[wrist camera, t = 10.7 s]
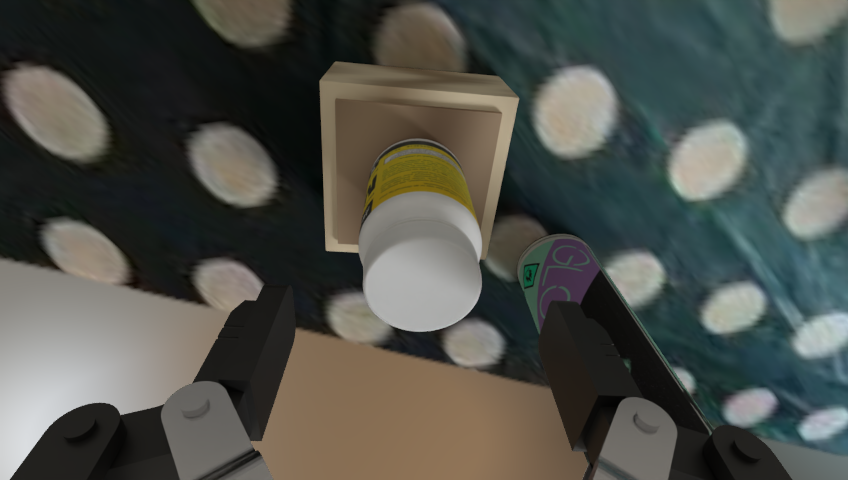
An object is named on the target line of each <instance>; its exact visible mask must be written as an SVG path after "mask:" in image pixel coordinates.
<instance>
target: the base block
mask: <svg viewBox="0 0 848 480" xmlns="http://www.w3.org/2000/svg"><path fill="white" fill-rule="evenodd" d="M518 101H519V97H518V96H517V95H516V94H515V93H514V92H513V91H512V90H511V89H510V88H509V87H508V86H507V85H506V84H505V83H504V81H503V80H502V79H501V78H500V77H499V76H492V75H481V74H469V73H458V72H447V71H436V70H425V69H414V68H403V67H392V66H381V65H370V64H359V63H348V62H336V61H335V62H334V64H333V65H332V66H331V67H330V69H329V70H328V71H327V72H326V73H325V75H324V76H323V77H322V78H321V80H320V106H321V133H322V160H323V186H324V213H325V240H326V251H339V252H357V253H359V248H358V243H359V232H360V227H361V221H362V216H363V211H364V205H365V198H366V193H367V187H368V180H369V176H370V172H371V169H372V167H373V165H374V163H375V161H376V159H377V158H378V157H379V155H380V154H381V153H382V152H383V151H384V150H386V149H387V148H388V147H390V146H391V145H393V144H395V143H397V142H400V141H403V140H407V139H416V138H418V139H428V140H432V141H435V142H437V143H439V144H441V145H443V146H445V147H446V148H447V149H449V150H450V151H451V152H452V153H453V154H454V155H455V157H456V158H457V160H458V161H459V163H460V165H461V167H462V170H463V173H464V176H465V180H466V184H467V187H468V191H469V194H470V198H471V201H472V205H473V208H474V211H475V215H476V218H477V221H478V225H479V229H480V233H481V238H482V252H481V257H480V259H486V257H487V252H488V247H489V242H490V237H491V232H492V227H493V223H494V218H495V213H496V208H497V203H498V198H499V193H500V188H501V184H502V179H503V174H504V169H505V164H506V159H507V154H508V149H509V144H510V140H511V135H512V130H513V125H514V120H515V115H516V110H517V105H518Z"/></svg>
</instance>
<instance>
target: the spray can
mask: <svg viewBox="0 0 848 480" xmlns="http://www.w3.org/2000/svg"><path fill="white" fill-rule="evenodd" d="M517 275H518V278H519V281H520V284H521V287H522V289H523V292H524V295H525V297H526V300H527V303H528V305H529V308H530V311H531V313H532V316H533V319H534V321H535V324H536V327H537V329H538V332H539V335H540V332H541V329H542V325H543V322H544V319H545V316H546V313H547V309H548V306H549V304H550V302H551V301H552V300H558V301H575V302H578V303H579V305H580V307H581V309H582V311H583V313H584V315H585V317H586V318H590V319H594V320H595V321H596V322H597V323H598V324H600V325H601V326H602V327H603V328H604V329H605V330H606V331H607V333H608V335H609V336H610V338H611V340H612V342H613V344H614V347H616V349H617V351H618V353H619V354H620V358H622V360H623V362H624V363H625V365H626V367H627V369H628V371H629V372H630V374H631V376H632V378H633V380H634V381H635V383H636V385H637V387H638V389H639V390H640V392H641V394H642V396H643V398H644V399H646V400H648V401H651V402H653V403H654V404H656V405H658V406H659V407H661V408H662V409H663V410H664V411H665V412H666V413H667V414H668V415H669V416H670V417H671V419H672V420H673V422H674V423H675V425H678V426H680V427H684V428H687V429H690V430H693V431H696V432H700V433H703V434H706V435H709V436H710V435H711V434H712V433H713V431H714V429H713V427H712V426H711V425H710V423H709V422H708V420H707V419H706V417H705V416H704V414H703V413H702V411H701V410H700V408H699V407H698V405H697V404H696V403H695V401H694V400H693V398H692V397H691V395H690V394H689V392H688V391H687V389H686V388H685V386H684V385H683V384H682V382H681V381H680V379H679V378H678V376H677V375H676V373H675V372H674V370H673V369H672V367H671V366H670V365H669V363H668V362H667V360H666V359H665V357H664V356H663V354H662V353H661V351H660V350H659V348H658V347H657V345H656V344H655V343H654V341H653V340H652V338H651V337H650V335H649V334H648V332H647V331H646V329H645V328H644V326H643V325H642V324H641V322H640V321H639V319H638V318H637V316H636V315H635V313H634V312H633V310H632V309H631V307H630V306H629V305H628V303H627V302H626V300H625V299H624V297H623V296H622V294H621V293H620V291H619V290H618V288H617V287H616V285H615V284H614V283H613V281H612V280H611V278H610V277H609V275H608V274H607V272H606V271H605V269H604V268H603V266H602V265H601V264H600V262H599V261H598V259H597V258H596V256H595V255H594V253H593V252H592V250H591V249H590V248H589V247H588V245H587V244H586V243H585V242H584V241H583V240H581V239H580V238H578V237H576V236H573V235H569V234H554V235H549V236H546V237H543V238H541V239H539V240H537V241H535V242H534V243H532V244H531V245H530V246H529V247H528V248H527V249H526V250H525V251H524V252H523V254H522V255H521V257H520V259H519V262H518V266H517ZM584 454H585V457H586V459H587V462H588V464H589V462H590V458H589V455H588V452H584Z"/></svg>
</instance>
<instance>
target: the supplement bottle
mask: <svg viewBox="0 0 848 480" xmlns="http://www.w3.org/2000/svg"><path fill="white" fill-rule="evenodd" d="M358 248H359V255H360V259H361V262H362V265H363V292H364V296H365V299H366V301H367V304H368V305H369V307H370V309H371V310H372V311H373V312H374V313H375V314H376V315H377V316H378V317H379V318H380V319H381V320H383V321H385V322H386V323H388V324H390V325H392V326H394V327H397V328H399V329H403V330H408V331H417V332H424V331H433V330H438V329H441V328H444V327H447V326H450V325H452V324H454V323H456V322H457V321H459V320H460V319H462V318H463V317H465V316H466V315H467V314H468V313H469V312H470V311H471V309H472V308H473V307H474V306H475V304H476V302H477V300H478V298H479V295H480V292H481V286H482V277H481V271H480V267H479V261H480V257H481V252H482V238H481V233H480V229H479V225H478V221H477V218H476V215H475V211H474V208H473V205H472V201H471V198H470V194H469V191H468V187H467V184H466V180H465V176H464V173H463V170H462V167H461V165H460V163H459V161H458V160H457V158H456V157H455V155H454V154H453V153H452V152H451V151H450V150H449V149H447V148H446V147H445V146H443V145H441V144H439V143H437V142H435V141H432V140H428V139H418V138H416V139H407V140H403V141H400V142H397V143H395V144H393V145H391V146H390V147H388V148H387V149H386V150H384V151H383V152H382V153H381V154H380V155H379V157H378V158H377V159H376V161H375V163H374V165H373V167H372V169H371V172H370V176H369V180H368V187H367V193H366V198H365V205H364V211H363V216H362V221H361V227H360V232H359V243H358Z"/></svg>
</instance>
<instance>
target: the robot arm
mask: <svg viewBox="0 0 848 480" xmlns="http://www.w3.org/2000/svg"><path fill="white" fill-rule="evenodd" d="M295 328H296V324H295V313H294V302H293V292H292V287H291V286H290V285H272V284H265V285H264V286H263V288H262V290H261V292H260V294H259V296H258V298H257V300H256V301H250V300H245V301H244V302H242V303H241V304H240V305H239V306H238V307H236V308H235V309H234V310H233V311H232V312H231V313H230V315H229V317H228V319H227V321H226V323H225V325H224V328H222V330H221V332H220V333H219V335H218V339H216V341H215V343H214V345H213V347H212V348H211V350H210V352H209V354H208V356H207V358H206V359H205V361H204V363H203V365H202V367H201V368H200V371H199V372H198V374H197V376H196V378H195V379H194V381H193V383H192V384H189V385H187V386H185V387H182V388H181V389H179V390H178V391H176V392H175V393H174V394H172V396H171V397H170V398H169V399H168V400H167V401H166V403H165V404H163V405H161V406H158V407H155V408H151V409H146V410H142V411H137V412H133V413H128V414H124V415H120V413H119V411H118V410H117V408H115V407H114V406H113V405H110V404H106V403H93V404H88V405H84V406H81V407H78V408H76V409H73V410H72V411H70V412H68V413H66V414H64V415H63V416H61V417H60V418H59V419H57V420H56V421H55V422H54V423H53V424H52V425H51V426H50V427H49V428H48V429H47V431H45V433H44V434H43V435H42V437H41V438H40V440H39V441H38V442H37V444H36V445H35V446H34V448H33V449H32V450H31V452H30V453H29V454H28V456H27V457H26V459H25V460H24V461H23V463H22V464H21V465H20V467H19V468H18V469H17V471H16V472H15V473H14V475H13V476H12V478H11V479H10V480H273V478H272V476H271V474H270V471H269V469H268V467H267V465H266V463H265V461H264V459H263V457H262V455H261V454H260V452H259V451H255V449H254V448H253V446H252V444H251V441H262V438H263V435H264V432H265V429H266V426H267V423H268V419H269V416H270V413H271V410H272V407H273V404H274V401H275V398H276V395H277V392H278V389H279V386H280V382H281V380H282V377H283V373H284V370H285V367H286V364H287V361H288V358H289V355H290V352H291V349H292V346H293V342H294V338H295ZM538 348H539V355H540V358H541V361H542V364H543V367H544V370H545V372H546V375H547V378H548V381H549V384H550V387H551V390H552V393H553V396H554V399H555V402H556V404H557V407H558V410H559V413H560V416H561V419H562V422H563V425H564V428H565V431H566V434H567V437H568V440H569V443H570V445H571V448H572V451H583V452H588V455H589V458H590V462H589V464H588V467H587V469H586V471H585V474H584V477H583V479H582V480H792V479H791V477H790V476H789V474H788V473H787V472H786V470H785V469H784V467H783V466H782V464H781V463H780V462H779V460H778V459H777V457H776V456H775V455H774V453H773V452H772V451H771V449H770V448H769V447H768V446H767V445H766V444H765V443H764V442H762V441H761V440H760V439H759V438H757V437H756V436H754V435H753V434H751V433H749V432H747V431H746V430H743V429H741V428H738V427H735V426H730V425H723V426H719V427H717V428H716V429H715V430H714V431H713V433H712V434H711V435H710V436H709V435H706V434H703V433H700V432H696V431H693V430H690V429H687V428H684V427H680V426H678V425H675V423H674V422H673V420H672V419H671V417H670V416H669V415H668V414H667V413H666V412H665V411H664V410H663V409H662V408H661V407H659V406H658V405H656V404H654V403H653V402H651V401H648V400H646V399H644V398H643V396H642V394H641V392H640V390H639V389H638V387H637V385H636V383H635V381H634V380H633V378H632V376H631V374H630V372H629V371H628V369H627V367H626V365H625V363H624V362H623V360H622V358H620V354H619V353H618V351H617V349H616V347H614V344H613V342H612V340H611V338H610V336H609V335H608V333H607V331H606V330H605V329H604V328H603V327H602V326H601V325H600V324H598V323H597V322H596V321H595V320H594V319H590V318H586V317H585V315H584V313H583V311H582V309H581V307H580V305H579V303H578V302H575V301H558V300H552V301H551V302H550V304H549V306H548V309H547V313H546V316H545V319H544V322H543V325H542V329H541V332H540V335H539V341H538Z"/></svg>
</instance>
